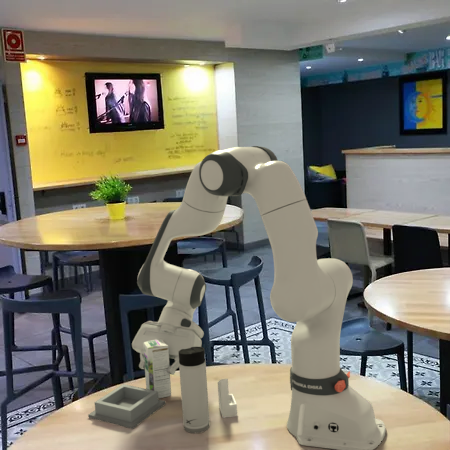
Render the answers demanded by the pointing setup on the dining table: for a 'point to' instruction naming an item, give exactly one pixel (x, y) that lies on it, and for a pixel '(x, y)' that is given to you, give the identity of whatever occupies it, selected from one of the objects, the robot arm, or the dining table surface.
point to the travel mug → (194, 389)
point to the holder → (127, 406)
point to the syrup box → (157, 367)
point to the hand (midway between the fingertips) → (155, 370)
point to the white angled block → (226, 400)
